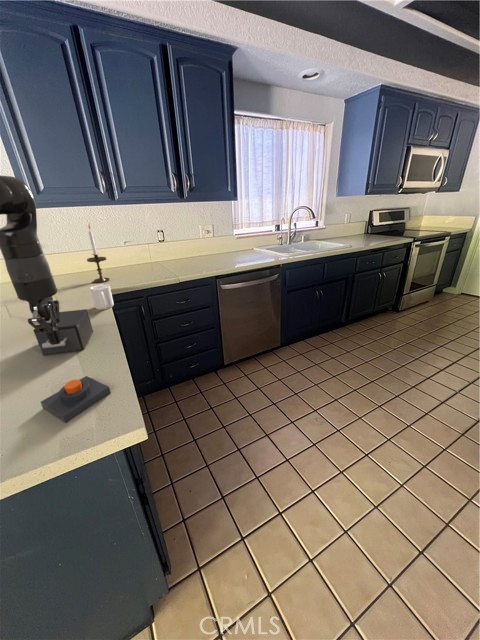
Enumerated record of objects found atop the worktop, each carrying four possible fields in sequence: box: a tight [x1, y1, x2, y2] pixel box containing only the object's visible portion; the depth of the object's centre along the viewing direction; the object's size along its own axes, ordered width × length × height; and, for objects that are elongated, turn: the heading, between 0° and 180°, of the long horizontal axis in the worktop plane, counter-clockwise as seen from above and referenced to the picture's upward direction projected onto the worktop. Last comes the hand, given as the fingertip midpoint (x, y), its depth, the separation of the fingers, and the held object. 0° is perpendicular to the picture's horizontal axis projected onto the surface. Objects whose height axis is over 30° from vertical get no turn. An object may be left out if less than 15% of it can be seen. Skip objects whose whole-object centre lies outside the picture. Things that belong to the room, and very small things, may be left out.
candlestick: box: [86, 223, 110, 284], centre depth 163 cm, size 11×11×35 cm
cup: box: [89, 283, 115, 311], centre depth 125 cm, size 8×12×10 cm
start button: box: [63, 379, 82, 394], centre depth 67 cm, size 4×4×2 cm
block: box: [40, 375, 112, 424], centre depth 68 cm, size 12×10×4 cm
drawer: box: [34, 327, 81, 355], centre depth 91 cm, size 18×11×8 cm, turn 15°
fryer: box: [33, 308, 94, 356], centre depth 95 cm, size 15×13×10 cm
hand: (56, 343), depth 66 cm, fingers closed
